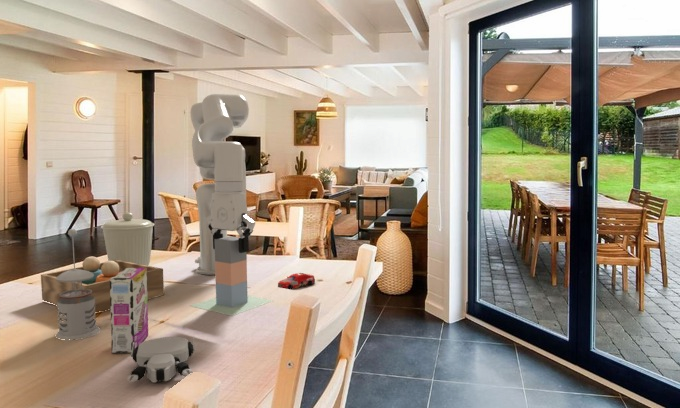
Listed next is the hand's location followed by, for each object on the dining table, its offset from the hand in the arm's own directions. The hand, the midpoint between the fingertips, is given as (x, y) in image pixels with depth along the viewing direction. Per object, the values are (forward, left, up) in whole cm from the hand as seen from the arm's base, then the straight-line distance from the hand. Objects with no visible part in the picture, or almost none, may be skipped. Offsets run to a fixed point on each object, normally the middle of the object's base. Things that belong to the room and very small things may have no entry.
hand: (230, 250), depth 141 cm
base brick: (0, 0, -15) cm, 15 cm away
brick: (0, 0, -9) cm, 9 cm away
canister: (-65, +13, -16) cm, 68 cm away
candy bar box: (+1, -32, -16) cm, 36 cm away
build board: (0, 0, -16) cm, 16 cm away
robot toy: (+19, -37, -16) cm, 45 cm away
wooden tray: (-38, -14, -16) cm, 44 cm away
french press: (-17, -34, -16) cm, 41 cm away
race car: (+1, +28, -17) cm, 32 cm away
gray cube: (0, 0, -3) cm, 3 cm away
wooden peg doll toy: (-37, -12, -16) cm, 43 cm away
